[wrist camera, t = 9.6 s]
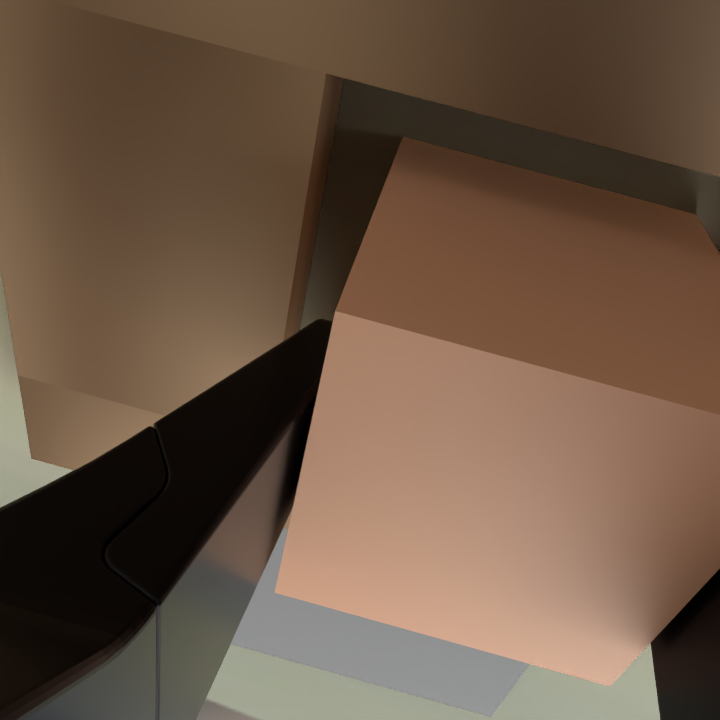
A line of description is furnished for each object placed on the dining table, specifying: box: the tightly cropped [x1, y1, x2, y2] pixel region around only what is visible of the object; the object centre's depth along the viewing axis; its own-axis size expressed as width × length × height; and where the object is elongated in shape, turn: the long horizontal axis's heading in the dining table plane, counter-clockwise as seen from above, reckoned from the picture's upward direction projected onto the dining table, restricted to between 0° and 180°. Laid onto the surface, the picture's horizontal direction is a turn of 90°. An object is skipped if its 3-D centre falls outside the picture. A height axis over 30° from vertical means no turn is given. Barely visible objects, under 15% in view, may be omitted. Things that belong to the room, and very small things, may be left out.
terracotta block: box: [275, 137, 720, 686], centre depth 9 cm, size 4×4×5 cm
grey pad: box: [231, 528, 529, 717], centre depth 17 cm, size 8×6×1 cm
